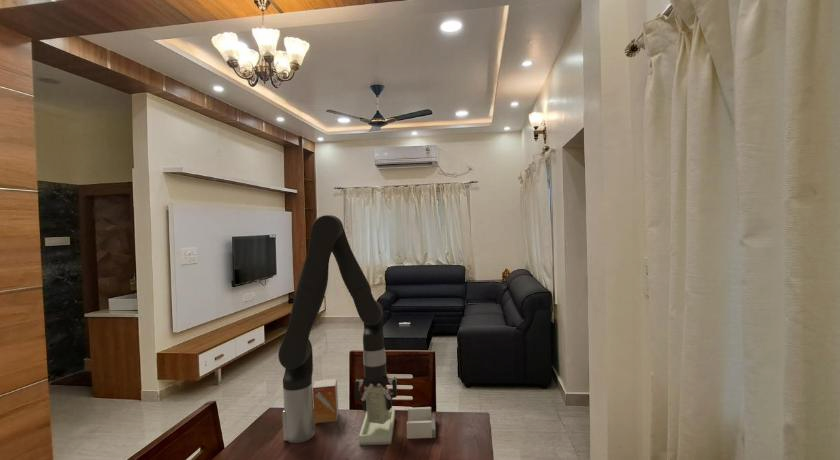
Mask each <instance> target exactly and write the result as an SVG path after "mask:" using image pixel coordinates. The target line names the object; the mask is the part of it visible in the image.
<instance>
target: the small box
mask: <svg viewBox="0 0 840 460" xmlns="http://www.w3.org/2000/svg"><path fill="white" fill-rule="evenodd" d="M312 391H313V410H314V424H320V423H321V424H322V423H330V422H337V421H338V417H339V398H338V397H339V396H338V395H339V394H338V379H337V378H332V379H322V380H315V381H314V383H313V385H312Z"/></svg>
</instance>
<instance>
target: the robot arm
mask: <svg viewBox="0 0 840 460" xmlns="http://www.w3.org/2000/svg"><path fill="white" fill-rule="evenodd" d="M309 236H310V237H309V242H308V243H309V244H308V249H307V254H306V257H305V260H304V263H303V266H302V269H301V273H300V276H299V280H298V283H297V286H296V291H295V294H294V299H293V302H292V307H291V312H290V317H289V322H288V326H287V327H286V328H287V329H286V331H285V334H284V336H283V340H282V342H281V344H280V347H279V349H278V354H277V355H278V356H277V357H278V360H279V361H278V362H279V363H280V365H281V367H283V368H284V374H283V378H282V388H283V389H282V391H283V407H284V409H283V410H282V413H281V415H282V416H281V417H282V432H283V441H284V442H287V443H288V442H289V443H292V444H299V443H304V442H307V441H309V440H310V439H312V438H314V436H315V434H316V433H315V429H316V428H315V423H314V404H313V372H314V362H313V361H314V357H313V356H314V355H313V346H312V342H311V341H310V339H309V338H310V334H311V331H312V328H313V325H314V323H315V321H316V319H317V317H318V314H319V312H320V310H321V307H322V305H323V302H324V299H325V295H326V292H327V289H328V282H329V266H330V258H331V256H332V255H331V254H333V257H334V259H335V261H336V264H337V267H338V271H339V273H340V277H341V278H342V281H343V283H344V285H345V287H346V289H347V291H348V293H349V294H350V296H351V298H352V300H353V303H354V307H355V309H356V312H357V315H358V316H359V319H360V320H361V322H362V323H363V334H362V345H363V346H362V347H363V354H362V359H363V360H362V361H363V379H360V378H356V379H355V381H354V388H355V399H356V400H361V409H362V411H363V412H365V413H366V412H367V407H366V397H367V396H368V394H369V392H370V389H372V387H373V386H378V387H379V386H381V387H382V389H383V394H384V395H385V396H386V397H387V406H388V411H389V410H391V409H392V408H393V398H397V396H398V395H397V394H398V386H397V383H398V382H397V377H396V376H394V377H393V378H392V377H391V378H389V377H388V374H387V372H388V371H387V355H386V350H385V349H386V348H385V335H384V308H383V305H382V304H381V303H380V302H379V301H378V300H375V298H374V296H373V293H372V288H371V285H370V283H369V281H368V280H367V277H366V276H365V273H364V272H363V270H362V268H361V266H360V264H359V262H358V260H357V259H356V257H355V255H354V252H353V250H352V248H351V245H350V243H349V240H348V237H347V234H346V231H345V227H344V224H343V222H342V221H341V220H340V218H338V217H337V216H335V215H333V214H322V215H320V216H318V217H316V218H315V220H314V221H313V223H312V225H311V230H310V235H309ZM388 383H389V384H390V386H392V392H391V391H390V388H389V387H388V386H387V385H388ZM382 385H383V386H382ZM362 386H365V387H368V388H367V390H366V391H365V390H364V392H363V393H362V392H361V387H362ZM385 387H386V390H385Z"/></svg>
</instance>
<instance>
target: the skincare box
mask: <svg viewBox="0 0 840 460" xmlns="http://www.w3.org/2000/svg"><path fill="white" fill-rule="evenodd" d="M382 386H383V385H382ZM363 387H364V392H365V391H366V390H367V388H368V387H365V385H363ZM385 390H386V387H385ZM387 399H388V398H387V397H386V396H385V395H384V394H383V389H382V387H381V386H379V387H378V386H373V387H372V389H370V392H369V394H368V396H367V397H366V407H367V411H366V412H367V417H368V422H371V423H378V424H384V423H385V422H386V421H387V420H388V419H389V411H388V406H387Z"/></svg>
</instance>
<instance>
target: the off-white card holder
mask: <svg viewBox="0 0 840 460" xmlns="http://www.w3.org/2000/svg"><path fill="white" fill-rule="evenodd" d="M435 416H436V414H435V413H432V407H431V406H422V407H421V406H419V407H408V408H407V419H408V420H407V421H406V438H407V440H408V439H409V440H410V439H428V438H429V439H432V438H436V437H437V435H436V433H437V432H436V417H435Z"/></svg>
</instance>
